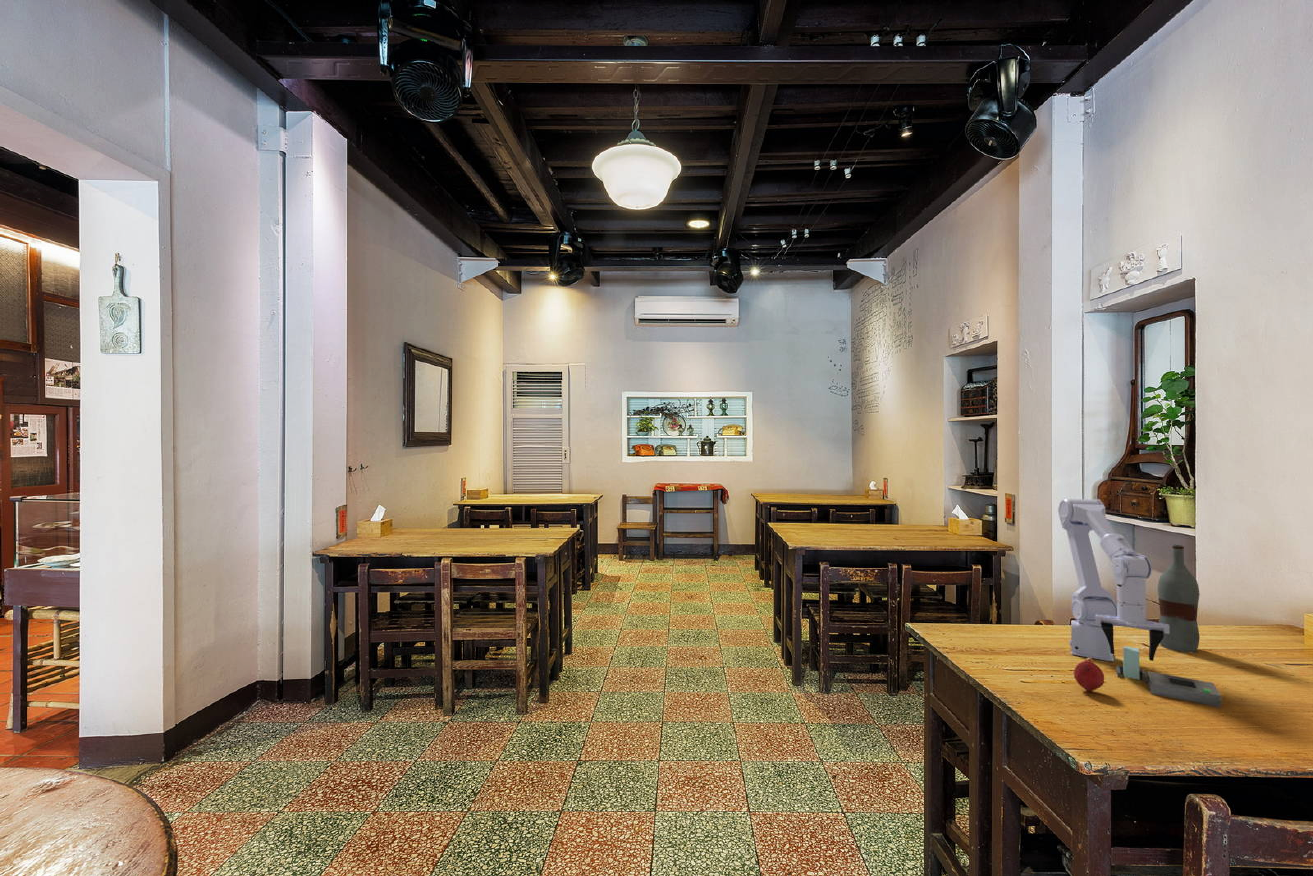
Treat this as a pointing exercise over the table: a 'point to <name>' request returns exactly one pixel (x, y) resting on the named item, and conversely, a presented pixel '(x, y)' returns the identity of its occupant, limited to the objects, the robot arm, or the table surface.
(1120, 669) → the holster
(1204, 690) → the port panel
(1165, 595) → the bottle
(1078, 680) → the onion
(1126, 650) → the plug
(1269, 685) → the table surface
